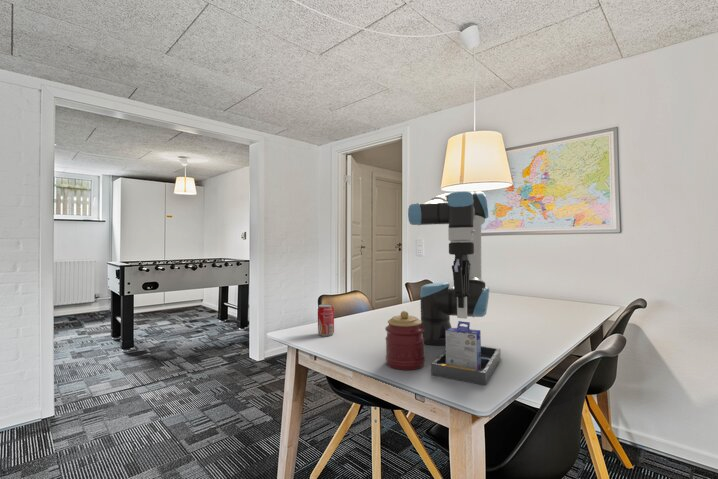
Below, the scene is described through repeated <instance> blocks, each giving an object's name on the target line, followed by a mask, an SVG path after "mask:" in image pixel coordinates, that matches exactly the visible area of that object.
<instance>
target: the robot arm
mask: <svg viewBox="0 0 718 479" xmlns="http://www.w3.org/2000/svg"><path fill="white" fill-rule="evenodd" d="M488 218H489V210H488V200H487V196H486V193H485V192H483V191H468V190H464V191H463V190H460V191H458V190H457V191H452V192H449V193H448V192H447V193H443V194H440V195H437V196H434V197H431V199H430V200H429V201H427V202H422V203H418V202H416V203H411V204H409V206H408V208H407V220H408V222H409V224H410V225H412V226H427V225H432V226H433V225H448V234H447V235H448V236H447V237H448V241H449V243H448V254H449V255H453V256H454V260H453V265H451V270H452V276H453V277H452V278H453V285H451V286H450V283H449V282H446V281H445V282H444V281H443V282H433V283H427V284H423V285H422V286H421V287H420V296H419V298H420V320H421V322H422V323H421V324H420V325H421V326H422V327H423V328H424V331H423V337H424V345H430V346H431V345H432V346H446V330H447V329H449V328H453V327H452V323H451V318H450V316H453V317H455V316H456V317H457V319H464V320H466V319H468V317H472V318H483V317H485V316H486V315H487V311H488V304H489V298H490V288H489V287H488V286H486V282H485V281H484V279H482V225H483V224H485V222H486V219H488Z"/></svg>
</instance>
